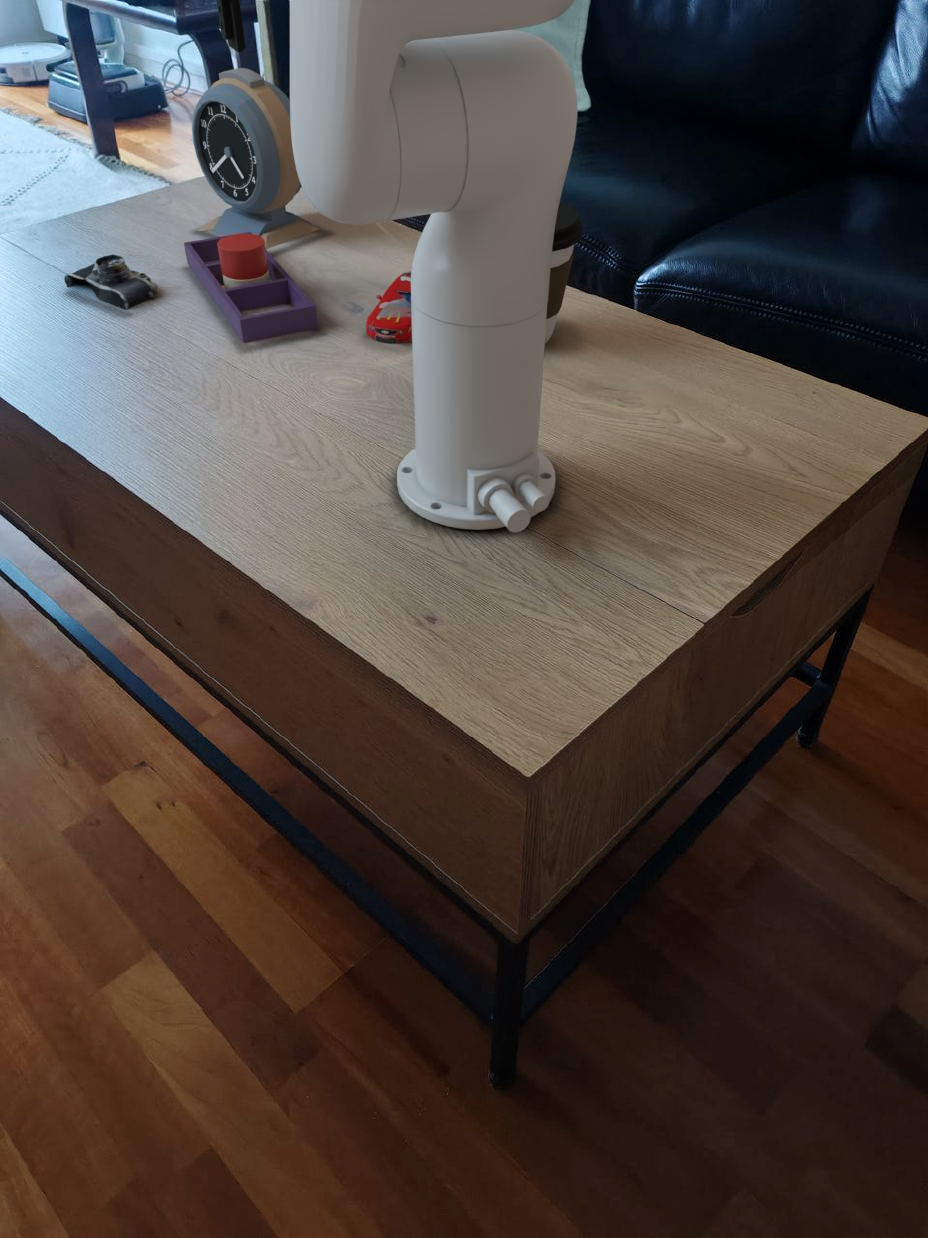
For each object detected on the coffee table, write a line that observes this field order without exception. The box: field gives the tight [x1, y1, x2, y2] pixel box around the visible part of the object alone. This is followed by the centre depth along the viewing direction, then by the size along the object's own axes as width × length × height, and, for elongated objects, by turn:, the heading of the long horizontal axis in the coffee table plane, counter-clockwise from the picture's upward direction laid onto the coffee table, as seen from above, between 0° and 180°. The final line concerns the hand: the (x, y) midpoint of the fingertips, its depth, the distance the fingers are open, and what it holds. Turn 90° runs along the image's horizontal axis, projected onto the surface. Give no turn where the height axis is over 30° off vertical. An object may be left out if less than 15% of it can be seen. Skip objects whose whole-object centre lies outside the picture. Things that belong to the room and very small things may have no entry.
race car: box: [365, 270, 412, 345], centre depth 99 cm, size 13×5×4 cm, turn 161°
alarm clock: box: [191, 67, 320, 250], centre depth 112 cm, size 14×10×18 cm
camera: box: [63, 253, 159, 310], centre depth 103 cm, size 5×10×4 cm, turn 53°
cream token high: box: [223, 269, 271, 289], centre depth 102 cm, size 5×5×1 cm
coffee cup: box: [545, 201, 585, 344], centre depth 94 cm, size 11×11×12 cm
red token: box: [217, 234, 268, 280], centre depth 101 cm, size 5×5×3 cm
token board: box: [183, 232, 319, 344], centre depth 103 cm, size 22×8×3 cm, turn 26°
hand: (289, 43), depth 87 cm, fingers open, 9 cm apart
